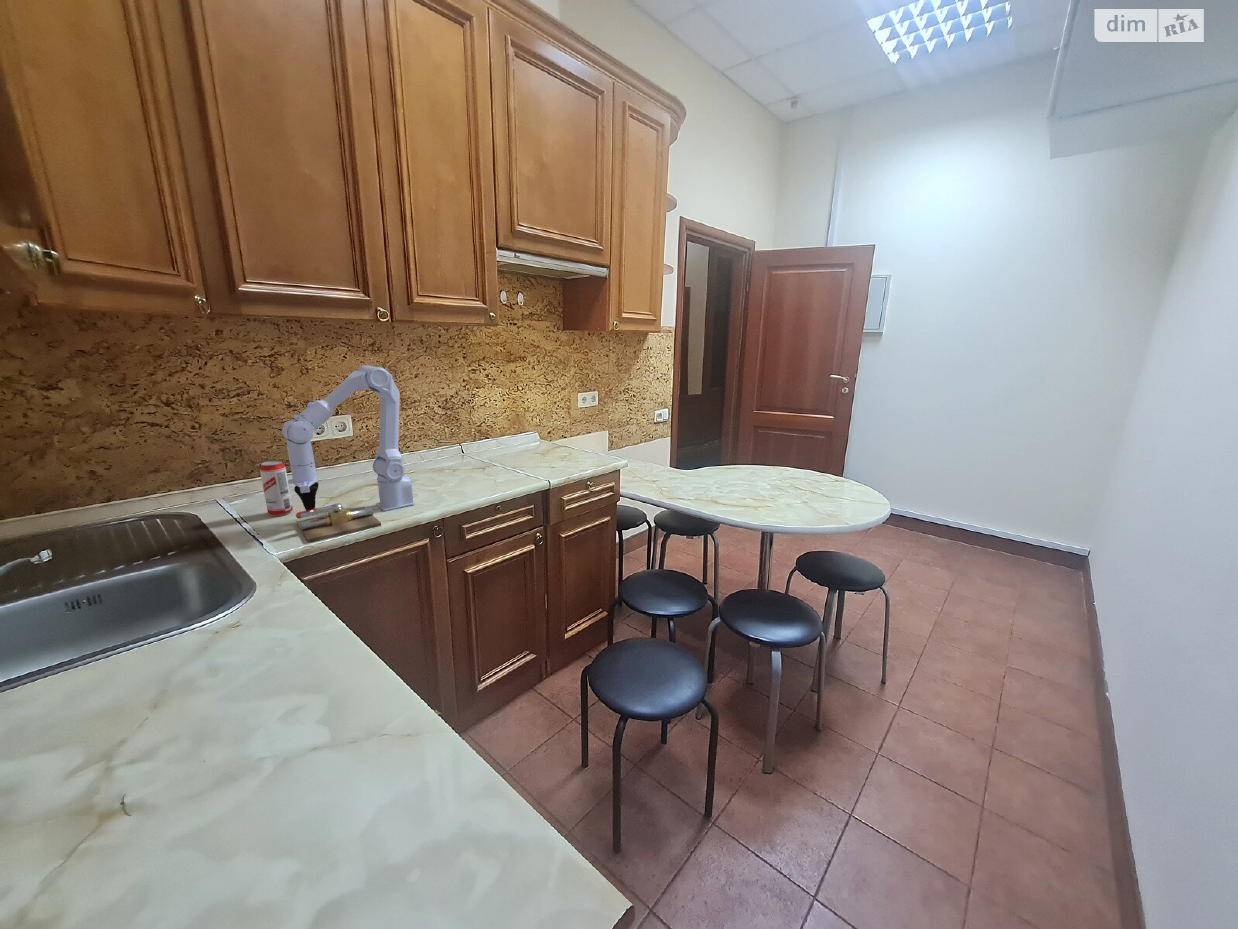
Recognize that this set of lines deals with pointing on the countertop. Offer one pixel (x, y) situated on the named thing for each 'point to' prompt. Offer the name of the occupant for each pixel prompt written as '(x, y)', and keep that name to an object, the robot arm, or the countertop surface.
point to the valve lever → (319, 511)
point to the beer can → (276, 488)
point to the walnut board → (339, 528)
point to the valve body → (336, 518)
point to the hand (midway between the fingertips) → (310, 509)
